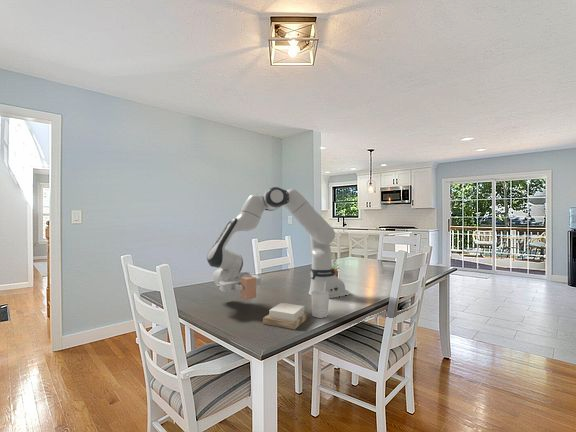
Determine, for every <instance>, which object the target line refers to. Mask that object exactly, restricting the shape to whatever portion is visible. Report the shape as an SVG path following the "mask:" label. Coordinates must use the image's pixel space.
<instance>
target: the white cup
mask: <svg viewBox="0 0 576 432" xmlns="http://www.w3.org/2000/svg"><path fill="white" fill-rule="evenodd" d="M310 298H311V315H312V317H314V318H316V317H317V319H324V317H325V318H327V317H328V316H329V304H330V303H329V301H330V298H329V292H326V291H312V292H311V295H310Z"/></svg>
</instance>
